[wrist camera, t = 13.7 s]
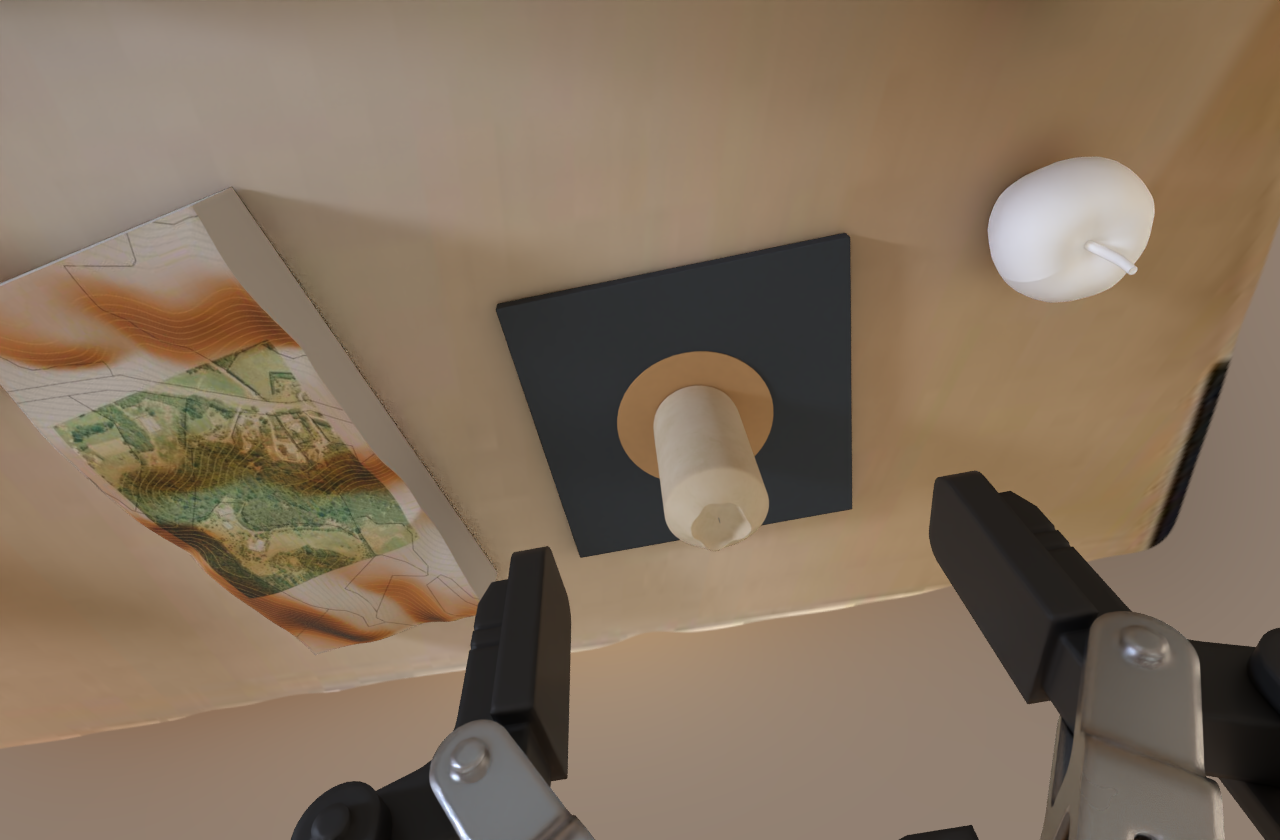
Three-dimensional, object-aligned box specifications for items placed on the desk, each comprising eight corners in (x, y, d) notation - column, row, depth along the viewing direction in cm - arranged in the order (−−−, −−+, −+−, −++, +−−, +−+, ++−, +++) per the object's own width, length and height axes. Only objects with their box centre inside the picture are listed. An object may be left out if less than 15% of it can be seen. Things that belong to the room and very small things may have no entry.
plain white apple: (992, 297, 38) (1077, 359, 31) (940, 205, 34) (1023, 252, 28) (1108, 220, 35) (1228, 268, 29) (1066, 113, 32) (1188, 140, 25)
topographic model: (1, 283, 34) (-84, 321, 30) (231, 186, 32) (175, 213, 28) (329, 622, 50) (304, 679, 45) (497, 572, 48) (487, 626, 43)
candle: (749, 391, 39) (791, 494, 31) (724, 461, 42) (756, 573, 34) (663, 377, 38) (682, 479, 30) (644, 450, 41) (656, 561, 33)
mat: (580, 550, 47) (580, 559, 46) (497, 303, 36) (494, 309, 35) (848, 502, 46) (852, 510, 45) (845, 232, 35) (851, 237, 34)
